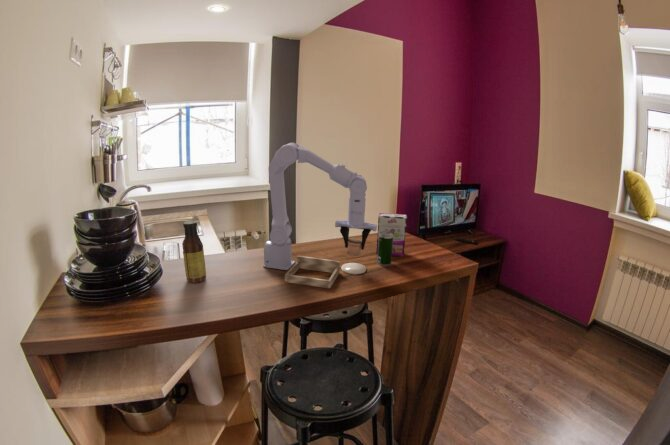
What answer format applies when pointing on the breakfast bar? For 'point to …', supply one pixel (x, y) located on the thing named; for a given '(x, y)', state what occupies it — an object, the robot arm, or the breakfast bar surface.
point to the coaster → (353, 268)
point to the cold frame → (315, 265)
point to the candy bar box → (393, 231)
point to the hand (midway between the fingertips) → (354, 247)
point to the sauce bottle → (193, 254)
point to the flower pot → (354, 247)
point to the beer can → (385, 248)
